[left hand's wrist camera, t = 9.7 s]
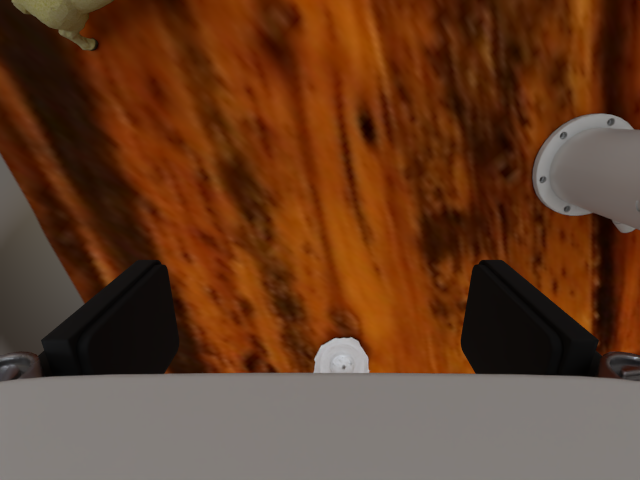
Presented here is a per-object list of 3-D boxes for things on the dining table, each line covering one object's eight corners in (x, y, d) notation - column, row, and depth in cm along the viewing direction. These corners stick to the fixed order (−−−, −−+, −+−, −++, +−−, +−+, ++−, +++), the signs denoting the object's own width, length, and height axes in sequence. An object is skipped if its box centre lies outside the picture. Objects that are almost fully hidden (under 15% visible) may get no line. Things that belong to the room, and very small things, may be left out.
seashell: (334, 345, 59) (307, 386, 54) (331, 327, 55) (303, 369, 51) (377, 367, 55) (353, 413, 51) (378, 350, 52) (352, 397, 47)
